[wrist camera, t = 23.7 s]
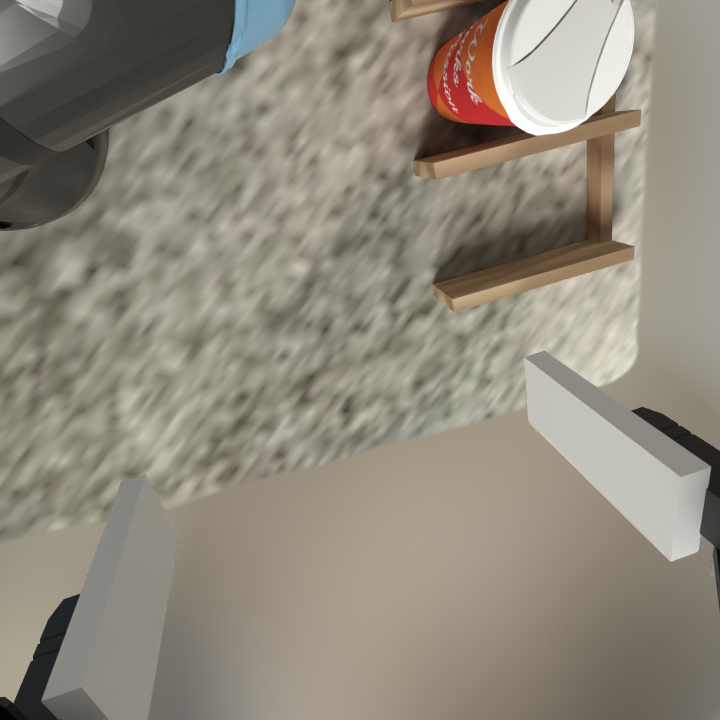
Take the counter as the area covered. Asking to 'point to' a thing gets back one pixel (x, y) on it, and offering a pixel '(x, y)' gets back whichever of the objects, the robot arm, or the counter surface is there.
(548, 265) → the oak rack
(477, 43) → the coffee cup
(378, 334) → the counter surface
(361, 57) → the counter surface
